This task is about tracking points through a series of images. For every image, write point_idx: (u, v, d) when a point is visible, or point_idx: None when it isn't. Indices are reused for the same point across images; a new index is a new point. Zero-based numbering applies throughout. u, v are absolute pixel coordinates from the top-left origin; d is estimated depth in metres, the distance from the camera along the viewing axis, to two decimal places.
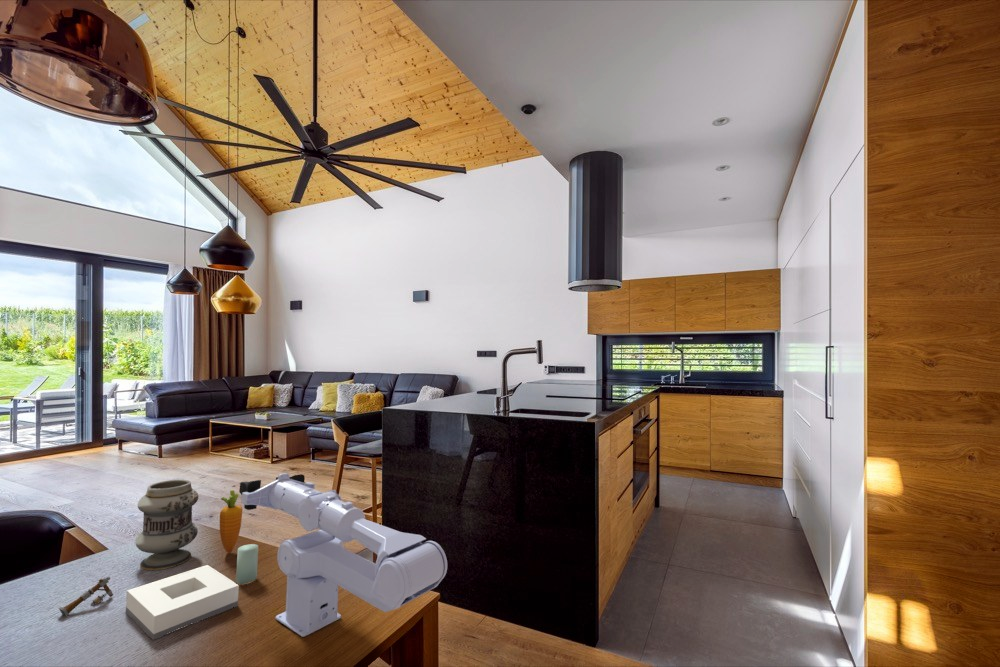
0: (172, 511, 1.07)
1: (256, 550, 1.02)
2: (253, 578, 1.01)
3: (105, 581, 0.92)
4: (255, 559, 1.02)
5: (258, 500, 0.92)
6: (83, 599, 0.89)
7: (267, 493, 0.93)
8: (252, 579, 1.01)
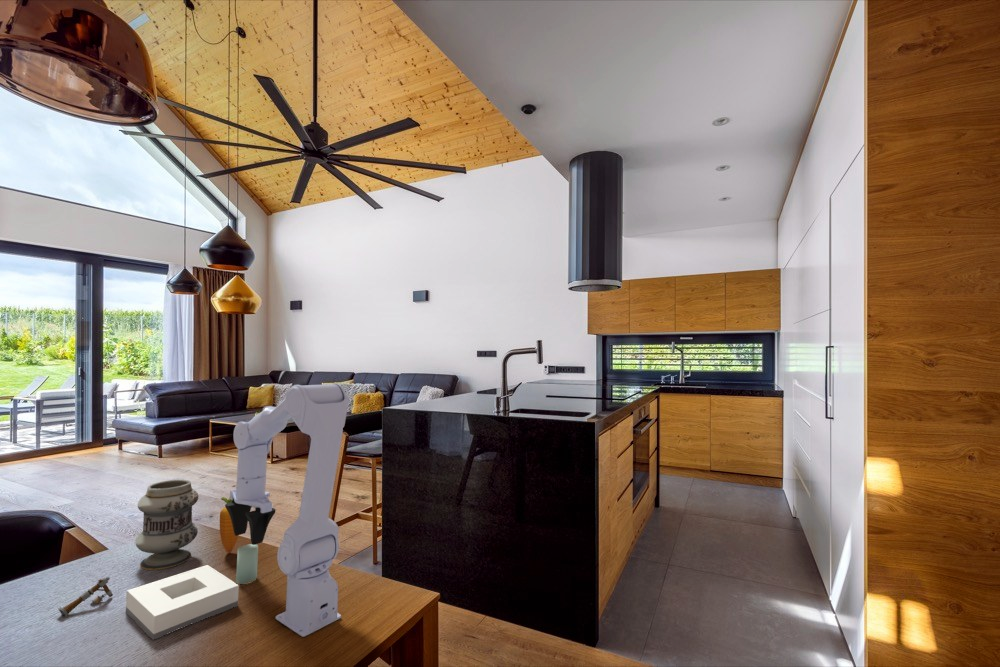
0: (172, 511, 1.07)
1: (256, 550, 1.02)
2: (253, 578, 1.01)
3: (104, 581, 0.92)
4: (255, 559, 1.02)
5: None
6: (83, 599, 0.89)
7: None
8: (252, 579, 1.01)
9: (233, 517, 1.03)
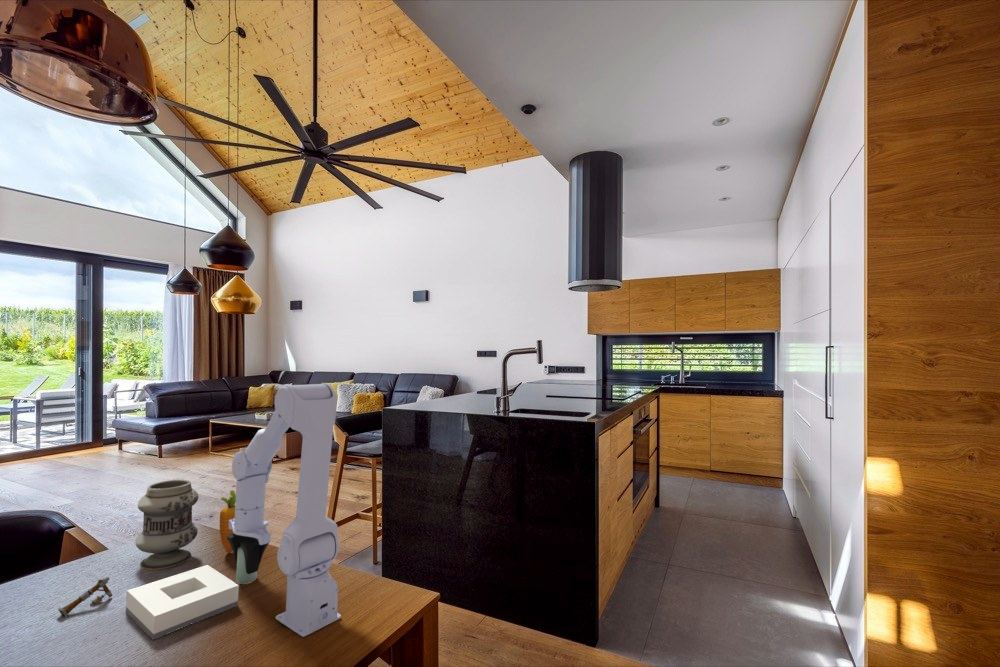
0: (172, 511, 1.07)
1: None
2: (253, 578, 1.01)
3: (104, 581, 0.92)
4: None
5: None
6: (82, 600, 0.89)
7: None
8: (252, 579, 1.01)
9: (235, 549, 1.02)
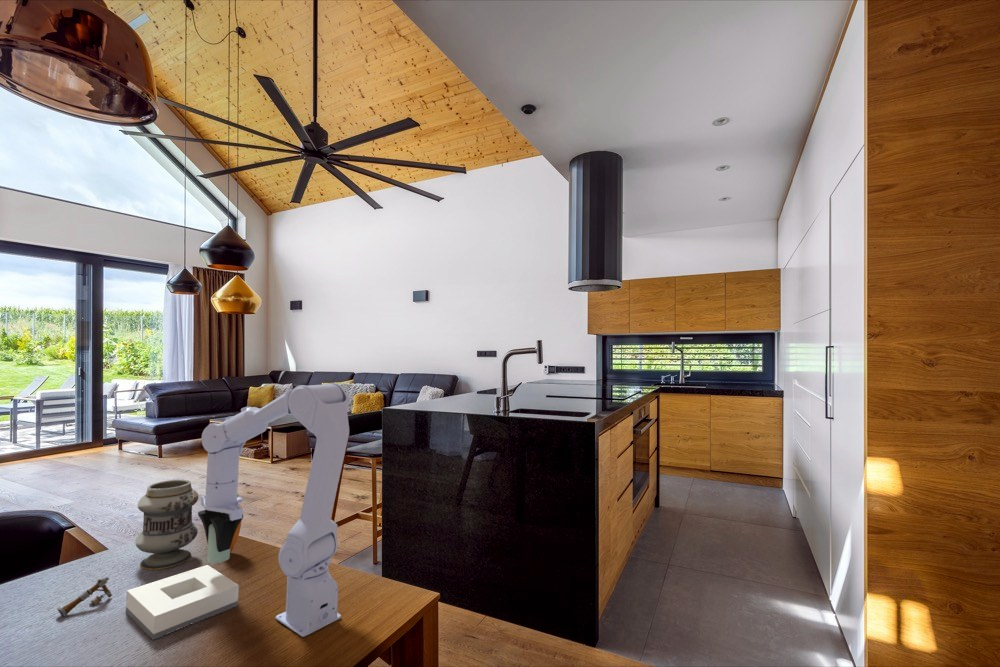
0: (172, 511, 1.07)
1: None
2: (225, 556, 0.96)
3: (104, 581, 0.92)
4: None
5: None
6: (82, 600, 0.89)
7: None
8: (224, 557, 0.96)
9: (206, 526, 0.97)
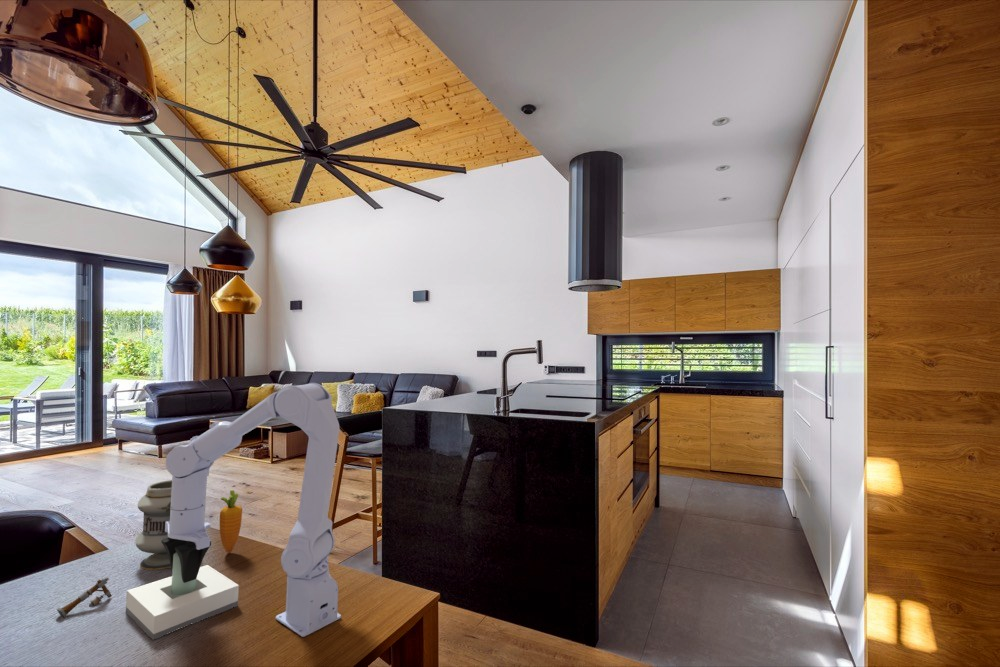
0: None
1: None
2: (191, 587, 0.90)
3: (103, 582, 0.92)
4: None
5: None
6: (81, 600, 0.89)
7: None
8: (190, 588, 0.90)
9: (170, 554, 0.91)
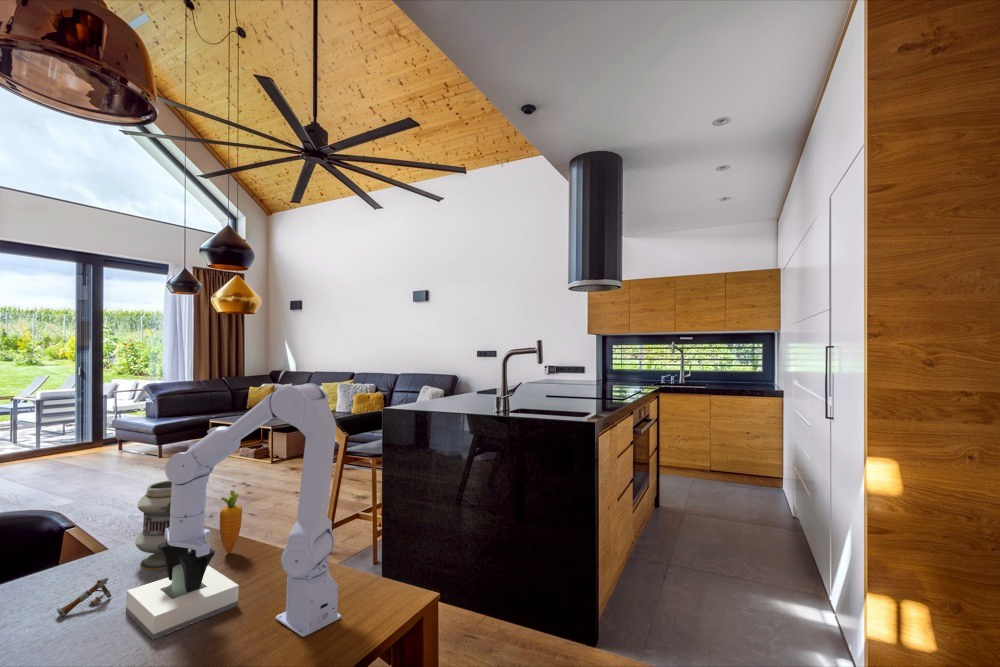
0: None
1: None
2: None
3: (103, 582, 0.92)
4: None
5: None
6: (81, 600, 0.89)
7: None
8: None
9: (167, 559, 0.91)
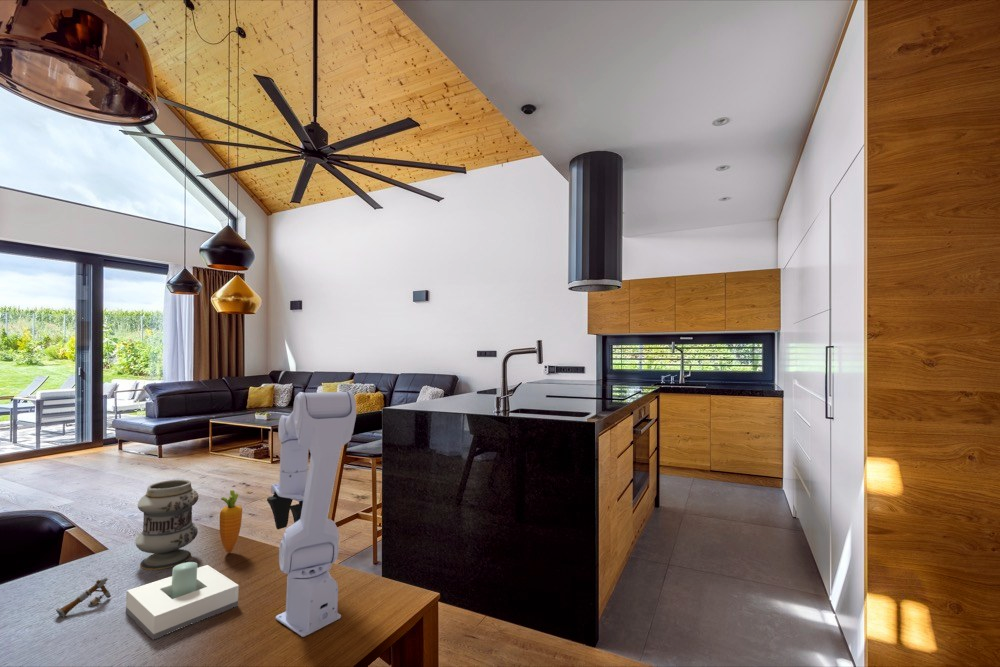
0: (172, 511, 1.07)
1: (194, 569, 0.91)
2: None
3: (102, 582, 0.92)
4: (193, 579, 0.90)
5: None
6: (80, 600, 0.89)
7: None
8: None
9: (275, 510, 1.04)
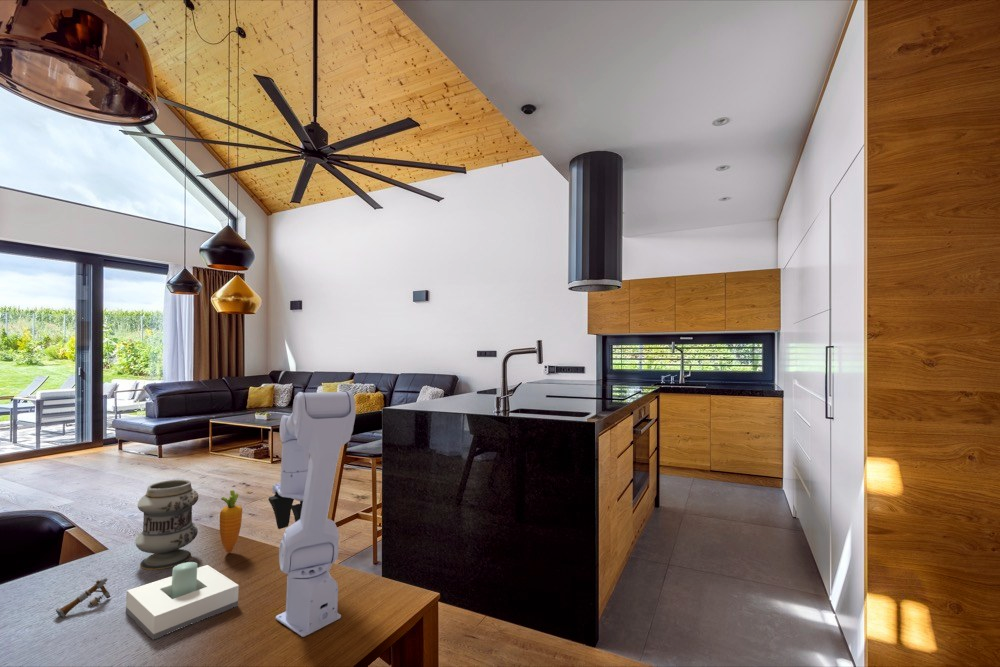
0: (172, 511, 1.07)
1: (194, 569, 0.91)
2: None
3: (102, 582, 0.92)
4: (193, 579, 0.90)
5: None
6: (80, 601, 0.89)
7: None
8: None
9: (276, 510, 1.04)
